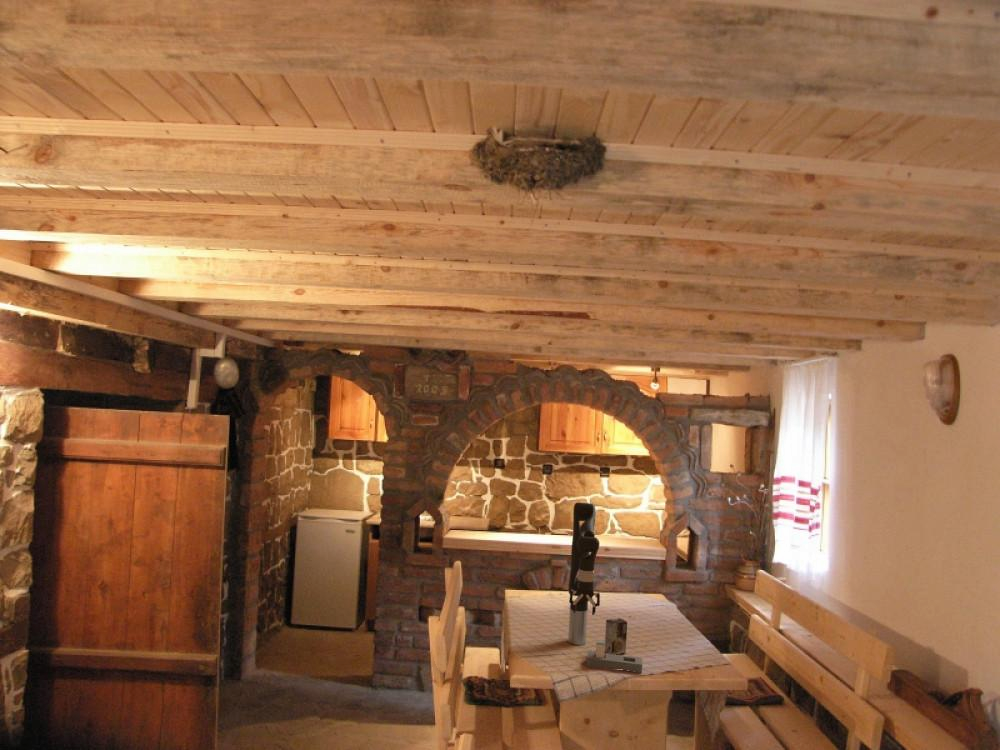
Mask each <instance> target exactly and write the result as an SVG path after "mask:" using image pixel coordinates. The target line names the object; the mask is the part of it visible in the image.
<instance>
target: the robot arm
mask: <svg viewBox="0 0 1000 750" xmlns="http://www.w3.org/2000/svg"><path fill="white" fill-rule="evenodd" d="M572 519H573V524H572V525H573V526H572V527H573V528H572V542H571V554H570V571H569V579H568V595H569V599H568V600H569V620H568V635H567V643H569V644H572V645H577V646H581V645H585V644H586V641H587V627H588V612H589V611H588V610H589V609H588V606H589V602H590V605H592V607H591V608H592V610H591V615H592V616H594V615H595V614H596V609H597V607H600V605H601V600H600V598H601V593H600V592H594V583H595V562H596V557H597V554H598V550H599V549H600V540H599V539H598V538H597V536H596V537H595V523H596V506H595V504H593V503H589V502H576V503H574V506H573V517H572ZM580 522H583V523H582V524H581V523H580ZM577 575H578V576H577ZM573 597H576V598H575V600H573ZM593 597H595V598H596V602H595V600H594V599H593Z"/></svg>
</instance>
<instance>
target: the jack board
mask: <svg viewBox="0 0 1000 750" xmlns="http://www.w3.org/2000/svg"><path fill="white" fill-rule="evenodd" d="M586 654H587V656H586V666H585V667H588V668H597V669H604V668H606V670H612V669H623V670H629V671H635V672H634V673H636V672H640V673H639V674H642V673H643V657H638V656H630V655H624V654H623V655H622V654H617V655H615V654H608V653H607V652H604V658H597V657H596V651H589V650H588V651H587V653H586Z"/></svg>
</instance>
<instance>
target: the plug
mask: <svg viewBox="0 0 1000 750" xmlns="http://www.w3.org/2000/svg"><path fill="white" fill-rule="evenodd" d="M595 645H596V646H595V652H596V657H597V658H604V653H605V640H600V639H597V640H596V643H595Z"/></svg>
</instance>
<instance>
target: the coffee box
mask: <svg viewBox="0 0 1000 750" xmlns="http://www.w3.org/2000/svg"><path fill="white" fill-rule="evenodd" d="M627 631H628V621H626V620H625V619H623V618H620V617H619V618H610V619H606V620H605V636H604V638H605V639H604V641H605V651H604V653H607V654H617V655H622V654H621V653H624V654H626V653H627V634H628V632H627Z"/></svg>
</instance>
